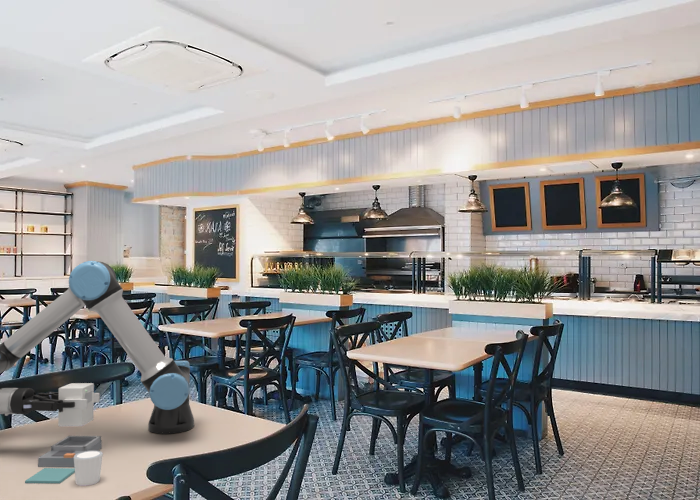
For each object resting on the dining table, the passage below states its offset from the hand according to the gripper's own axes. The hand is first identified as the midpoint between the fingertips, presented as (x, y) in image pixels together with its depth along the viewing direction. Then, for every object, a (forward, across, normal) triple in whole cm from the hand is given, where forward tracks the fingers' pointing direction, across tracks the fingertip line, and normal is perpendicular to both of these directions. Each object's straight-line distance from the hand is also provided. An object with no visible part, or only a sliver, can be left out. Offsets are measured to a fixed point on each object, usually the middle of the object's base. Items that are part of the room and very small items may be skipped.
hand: (93, 400), depth 165 cm
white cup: (+9, +21, -16) cm, 28 cm away
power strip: (-5, -1, -16) cm, 16 cm away
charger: (-5, 0, -6) cm, 8 cm away
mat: (-2, +18, -16) cm, 24 cm away
